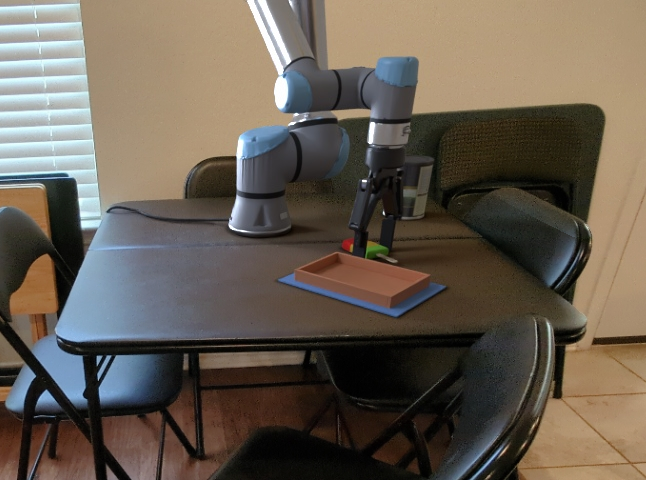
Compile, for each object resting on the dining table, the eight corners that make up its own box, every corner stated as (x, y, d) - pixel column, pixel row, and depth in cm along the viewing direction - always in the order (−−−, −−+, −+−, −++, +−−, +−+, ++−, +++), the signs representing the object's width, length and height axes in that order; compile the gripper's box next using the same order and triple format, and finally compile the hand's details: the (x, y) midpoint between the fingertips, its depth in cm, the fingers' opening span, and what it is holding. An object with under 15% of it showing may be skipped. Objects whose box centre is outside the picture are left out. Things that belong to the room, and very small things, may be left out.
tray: (293, 281, 114) (294, 269, 112) (335, 263, 122) (336, 251, 121) (389, 310, 101) (391, 296, 99) (428, 287, 109) (431, 274, 108)
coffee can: (392, 221, 147) (401, 163, 141) (376, 210, 156) (383, 155, 150) (432, 218, 148) (442, 160, 141) (413, 208, 157) (422, 153, 150)
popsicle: (359, 244, 132) (360, 236, 131) (406, 264, 120) (408, 255, 119) (339, 248, 130) (340, 239, 130) (385, 269, 118) (386, 260, 117)
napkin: (277, 281, 114) (278, 279, 114) (331, 258, 125) (331, 256, 125) (396, 317, 98) (397, 316, 98) (446, 287, 108) (446, 286, 108)
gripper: (373, 155, 105) (358, 272, 115) (432, 140, 118) (414, 247, 129) (337, 151, 110) (326, 264, 120) (398, 137, 123) (383, 240, 134)
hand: (371, 255), depth 125 cm, fingers open, 10 cm apart
